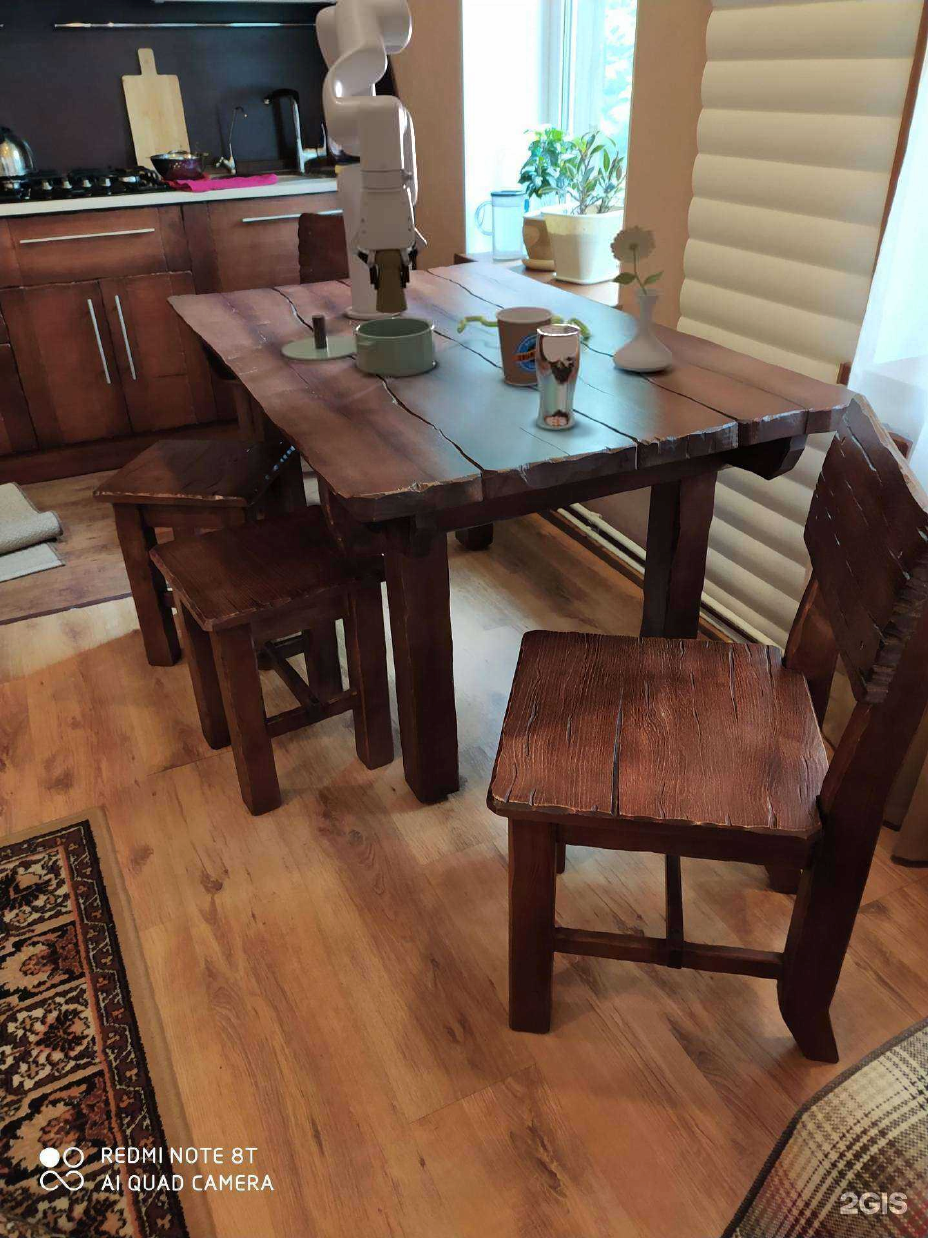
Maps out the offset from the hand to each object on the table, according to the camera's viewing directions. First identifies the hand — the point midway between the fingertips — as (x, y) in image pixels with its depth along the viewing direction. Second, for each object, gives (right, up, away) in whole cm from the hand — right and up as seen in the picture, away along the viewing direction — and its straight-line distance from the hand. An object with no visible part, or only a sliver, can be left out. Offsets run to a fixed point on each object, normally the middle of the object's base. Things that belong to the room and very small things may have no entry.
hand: (390, 286), depth 168 cm
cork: (0, -4, +2) cm, 4 cm away
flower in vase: (+47, -15, +2) cm, 49 cm away
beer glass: (+29, -31, -23) cm, 48 cm away
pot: (+1, -13, +7) cm, 15 cm away
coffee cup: (+25, -19, -3) cm, 31 cm away
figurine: (+26, -5, +19) cm, 33 cm away
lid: (-15, -7, +16) cm, 23 cm away
